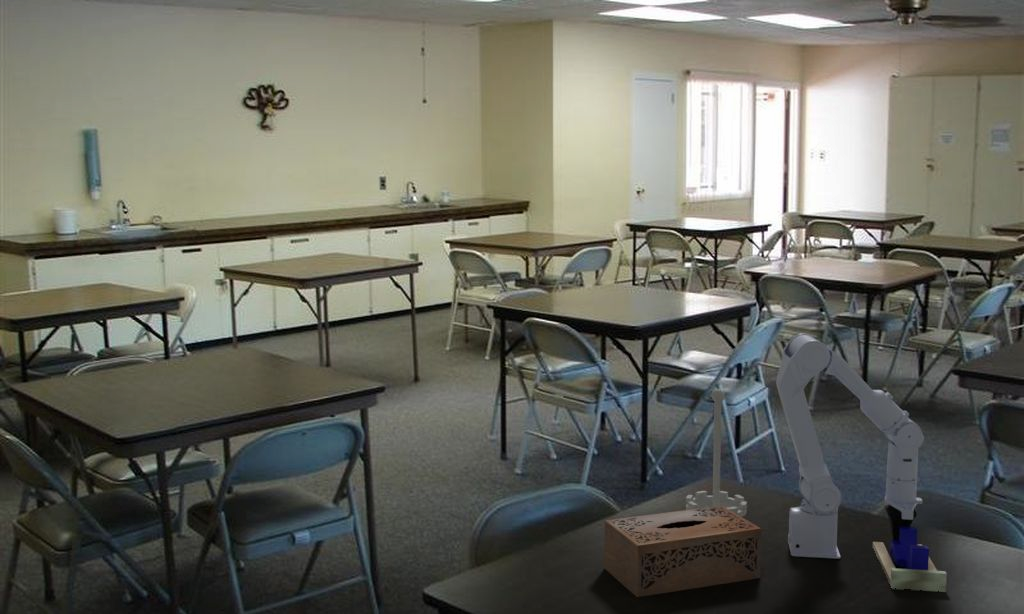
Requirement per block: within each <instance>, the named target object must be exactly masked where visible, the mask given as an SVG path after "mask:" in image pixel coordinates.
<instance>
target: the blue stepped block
mask: <svg viewBox="0 0 1024 614" xmlns="http://www.w3.org/2000/svg"><path fill="white" fill-rule="evenodd" d="M917 544H918V529H917V527H916V526H910V527H907V526H900V531H899V541H897V540H893V539H891V540H890V557H891V559H892V560H893V559H894V560H893V563H894V564H895V563H896V564H895V566H896V565H904V566H903V567H904V568H905V567H906V568H905V569H915V570H928V561H929V558H930V554H929V553H930V547H929V546H928V545H922V546H920V545H917Z"/></svg>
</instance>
